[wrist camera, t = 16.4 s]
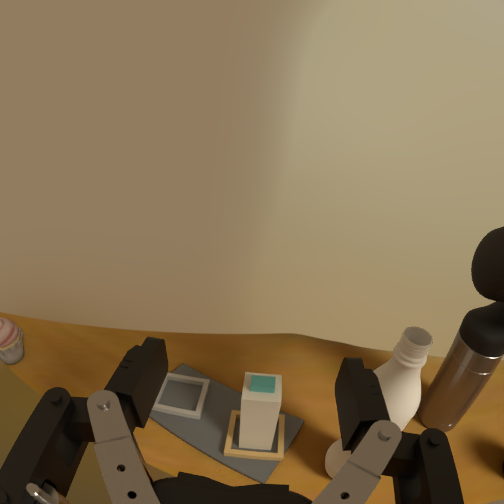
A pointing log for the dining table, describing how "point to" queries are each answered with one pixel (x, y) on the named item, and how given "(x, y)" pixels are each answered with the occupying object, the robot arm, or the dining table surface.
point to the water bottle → (394, 387)
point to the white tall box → (259, 410)
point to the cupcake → (10, 342)
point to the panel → (217, 422)
